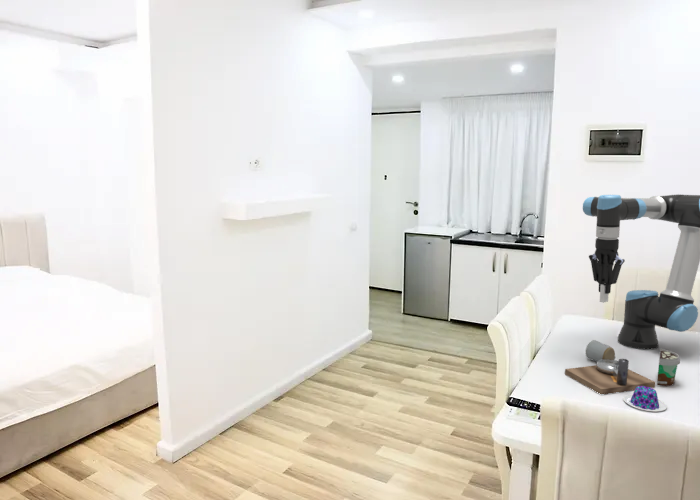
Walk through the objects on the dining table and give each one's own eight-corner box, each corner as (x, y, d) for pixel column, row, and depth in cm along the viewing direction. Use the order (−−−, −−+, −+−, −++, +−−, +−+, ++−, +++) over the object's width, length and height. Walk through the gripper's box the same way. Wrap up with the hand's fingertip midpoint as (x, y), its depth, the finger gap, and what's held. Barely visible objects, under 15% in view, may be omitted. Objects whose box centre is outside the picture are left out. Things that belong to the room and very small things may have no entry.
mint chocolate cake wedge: (678, 390, 173) (680, 362, 171) (656, 386, 176) (659, 358, 174) (677, 378, 183) (680, 351, 182) (657, 374, 186) (660, 348, 185)
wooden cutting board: (614, 368, 192) (615, 362, 192) (654, 387, 175) (655, 381, 175) (564, 374, 187) (565, 368, 186) (601, 394, 169) (601, 388, 169)
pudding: (621, 407, 161) (622, 391, 161) (625, 393, 171) (626, 378, 171) (665, 417, 155) (667, 400, 154) (667, 402, 165) (669, 386, 164)
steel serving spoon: (593, 363, 190) (595, 342, 189) (623, 365, 188) (624, 344, 187) (606, 383, 172) (608, 360, 171) (639, 386, 170) (641, 363, 169)
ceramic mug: (603, 367, 193) (605, 347, 192) (584, 360, 200) (585, 341, 199) (620, 362, 199) (622, 343, 197) (601, 355, 206) (603, 337, 204)
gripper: (584, 237, 188) (581, 299, 192) (617, 241, 177) (613, 307, 181) (597, 235, 192) (594, 296, 196) (631, 239, 181) (627, 303, 184)
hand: (603, 301), depth 188 cm, fingers closed
